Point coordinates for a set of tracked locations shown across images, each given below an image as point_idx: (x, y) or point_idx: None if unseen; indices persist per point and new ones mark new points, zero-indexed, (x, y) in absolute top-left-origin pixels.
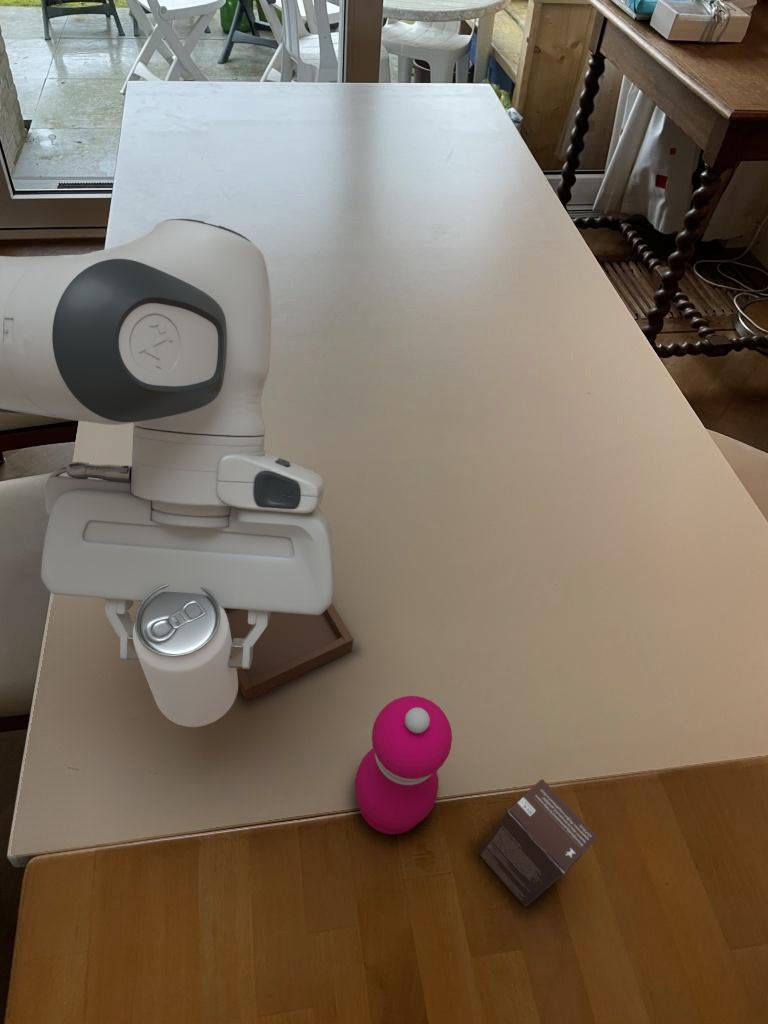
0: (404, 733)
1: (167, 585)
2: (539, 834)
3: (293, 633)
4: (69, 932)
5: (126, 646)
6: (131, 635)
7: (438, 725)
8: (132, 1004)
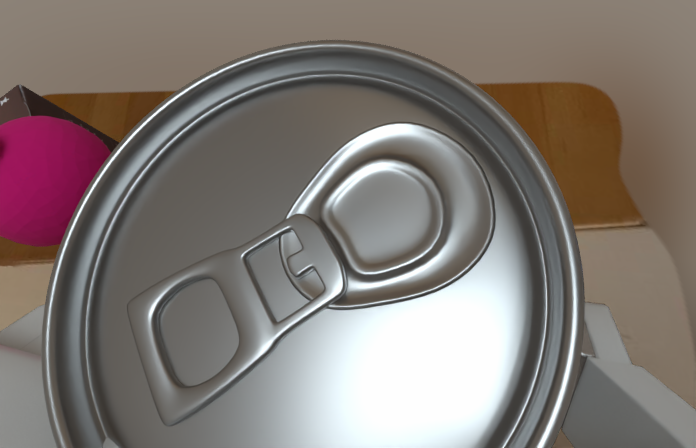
0: (12, 142)
1: None
2: (20, 117)
3: None
4: (573, 146)
5: (590, 330)
6: (578, 378)
7: None
8: (492, 90)
